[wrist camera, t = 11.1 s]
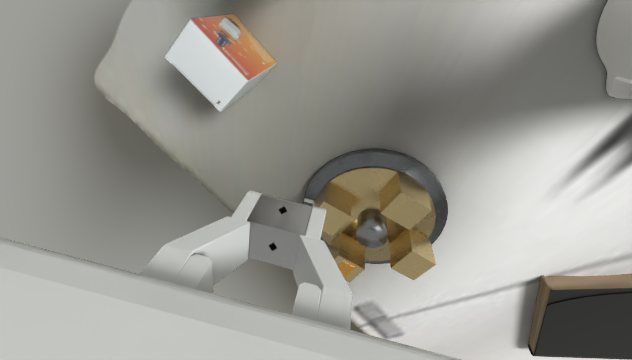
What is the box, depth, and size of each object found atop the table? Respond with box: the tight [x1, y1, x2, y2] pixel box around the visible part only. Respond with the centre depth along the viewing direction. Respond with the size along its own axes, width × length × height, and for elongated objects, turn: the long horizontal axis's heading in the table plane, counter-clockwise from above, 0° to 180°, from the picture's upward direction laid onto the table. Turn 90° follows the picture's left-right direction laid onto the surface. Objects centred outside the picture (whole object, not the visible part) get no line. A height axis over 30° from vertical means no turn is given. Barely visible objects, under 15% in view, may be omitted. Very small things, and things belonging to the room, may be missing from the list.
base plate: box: [304, 149, 448, 264], centre depth 48 cm, size 24×24×2 cm
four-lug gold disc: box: [312, 166, 436, 282], centre depth 45 cm, size 20×20×6 cm
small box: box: [165, 14, 277, 112], centre depth 34 cm, size 8×6×10 cm
